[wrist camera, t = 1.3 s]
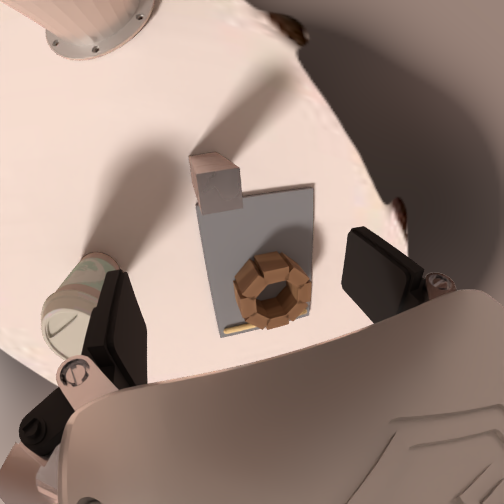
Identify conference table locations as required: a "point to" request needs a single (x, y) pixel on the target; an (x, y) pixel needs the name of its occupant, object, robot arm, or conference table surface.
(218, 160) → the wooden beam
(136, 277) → the conference table surface
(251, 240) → the mat
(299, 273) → the brown wooden ring
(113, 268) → the coffee cup
